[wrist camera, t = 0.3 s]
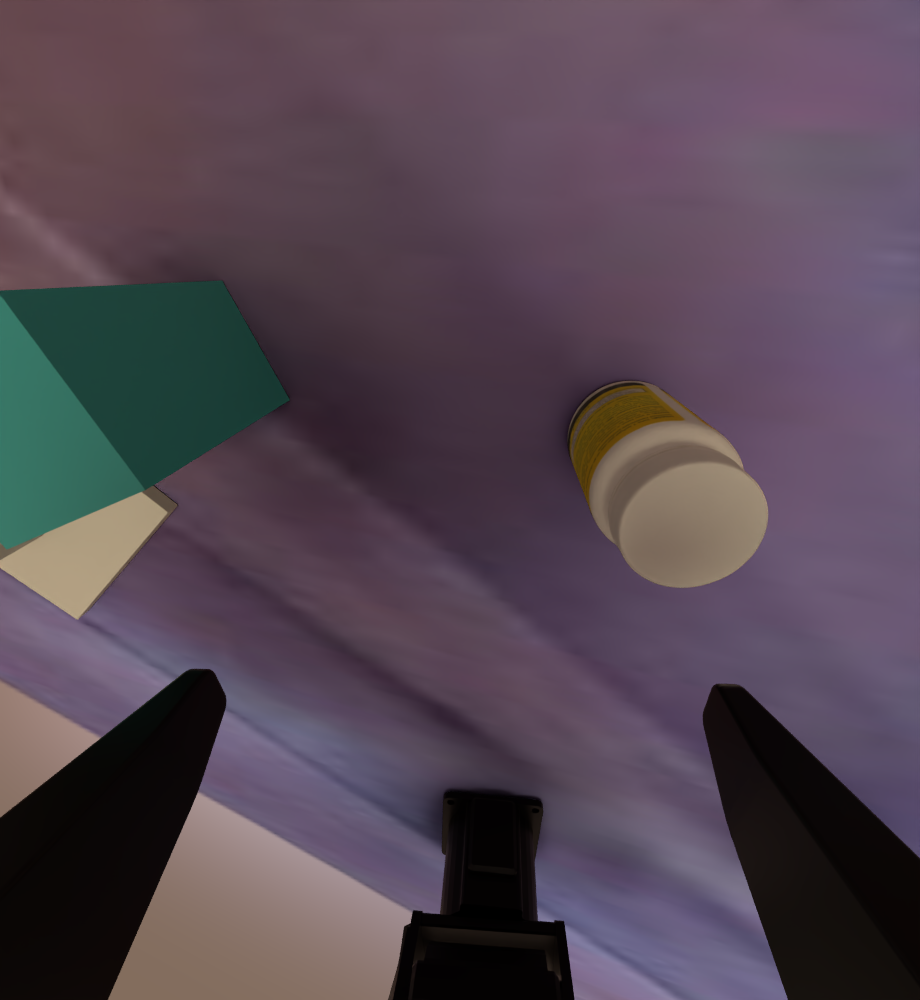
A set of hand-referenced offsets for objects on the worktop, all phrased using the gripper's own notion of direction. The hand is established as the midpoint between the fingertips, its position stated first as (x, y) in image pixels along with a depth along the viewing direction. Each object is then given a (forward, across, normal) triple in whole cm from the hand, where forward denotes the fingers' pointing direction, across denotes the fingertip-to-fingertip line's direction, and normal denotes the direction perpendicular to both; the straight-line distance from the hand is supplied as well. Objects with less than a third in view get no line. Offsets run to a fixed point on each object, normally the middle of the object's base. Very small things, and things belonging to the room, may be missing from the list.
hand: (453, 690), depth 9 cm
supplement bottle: (+14, -6, +2) cm, 16 cm away
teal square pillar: (+14, +12, -2) cm, 19 cm away
